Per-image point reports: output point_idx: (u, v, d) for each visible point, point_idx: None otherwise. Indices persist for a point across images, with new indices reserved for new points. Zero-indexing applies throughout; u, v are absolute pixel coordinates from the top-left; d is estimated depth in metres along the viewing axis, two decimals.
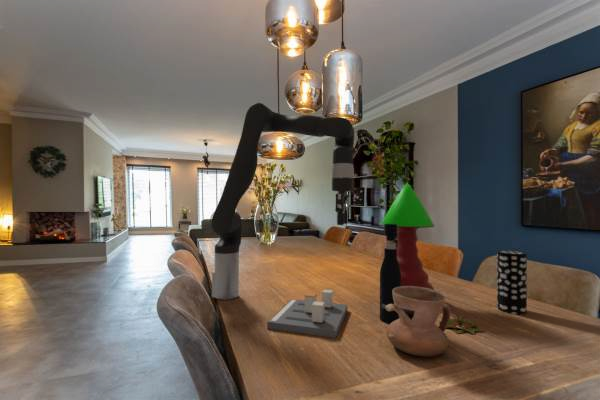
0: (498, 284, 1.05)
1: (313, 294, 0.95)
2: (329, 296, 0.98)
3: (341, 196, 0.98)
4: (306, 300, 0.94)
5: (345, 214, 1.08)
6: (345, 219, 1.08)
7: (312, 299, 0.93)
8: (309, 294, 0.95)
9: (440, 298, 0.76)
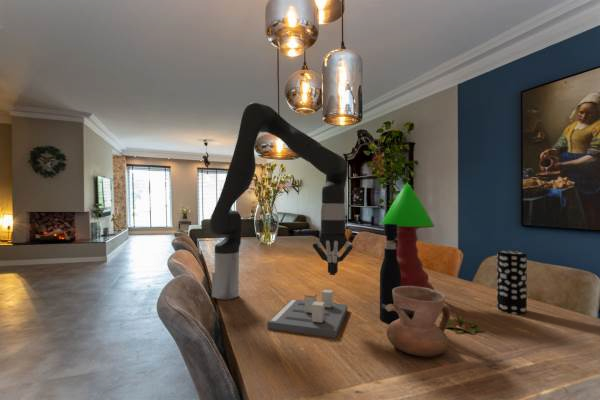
0: (498, 284, 1.05)
1: (313, 294, 0.95)
2: (329, 296, 0.98)
3: None
4: (306, 300, 0.94)
5: None
6: None
7: (312, 299, 0.93)
8: (309, 294, 0.95)
9: (440, 298, 0.76)
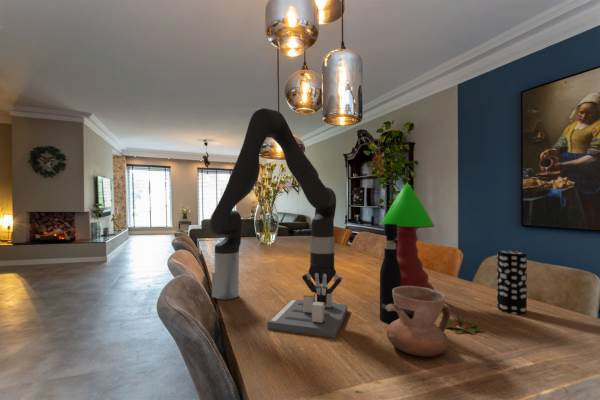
0: (498, 284, 1.05)
1: (312, 294, 0.95)
2: (329, 296, 0.98)
3: None
4: (305, 300, 0.94)
5: None
6: None
7: (311, 299, 0.93)
8: (308, 294, 0.95)
9: (440, 298, 0.76)
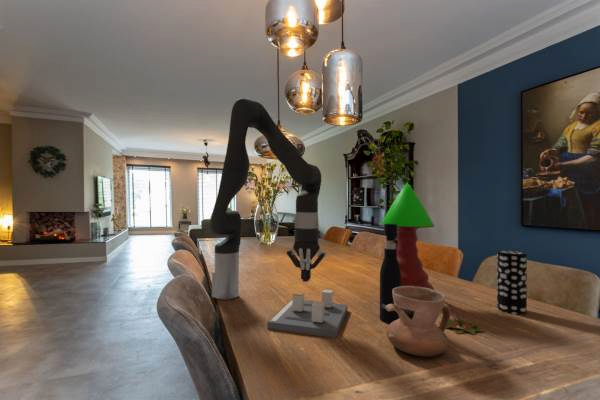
0: (498, 284, 1.05)
1: (301, 293, 0.96)
2: (329, 296, 0.98)
3: (324, 256, 0.95)
4: (294, 299, 0.95)
5: None
6: None
7: (299, 298, 0.94)
8: (297, 293, 0.96)
9: (440, 298, 0.76)
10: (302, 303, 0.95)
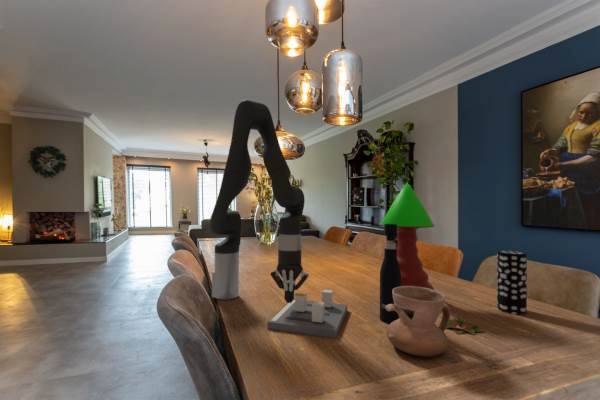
0: (498, 284, 1.05)
1: (303, 293, 0.96)
2: (329, 296, 0.98)
3: (307, 277, 0.96)
4: (296, 299, 0.95)
5: None
6: None
7: (302, 298, 0.94)
8: (299, 293, 0.96)
9: (440, 298, 0.76)
10: (305, 303, 0.95)
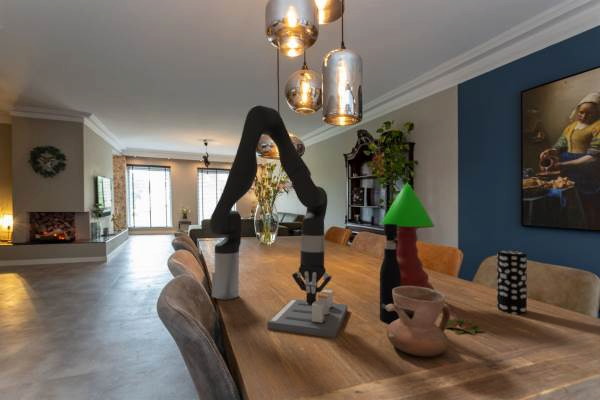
0: (498, 284, 1.05)
1: (326, 295, 0.94)
2: (329, 296, 0.98)
3: (330, 279, 0.94)
4: (319, 301, 0.93)
5: None
6: None
7: (325, 300, 0.92)
8: (322, 295, 0.94)
9: (440, 298, 0.76)
10: (327, 306, 0.93)
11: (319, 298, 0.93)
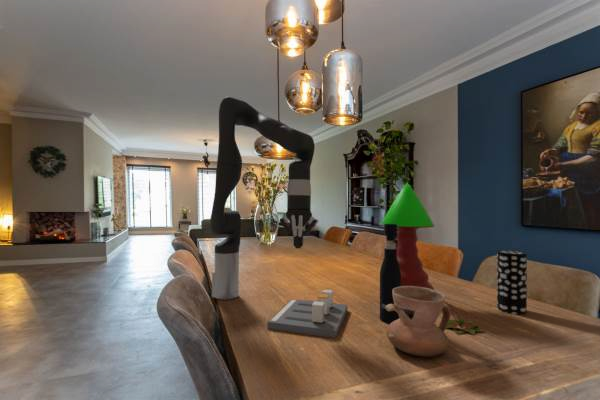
0: (498, 284, 1.05)
1: (326, 295, 0.94)
2: (329, 296, 0.98)
3: (316, 223, 0.96)
4: (319, 301, 0.93)
5: None
6: None
7: (325, 300, 0.92)
8: (322, 295, 0.94)
9: (440, 298, 0.76)
10: (327, 306, 0.93)
11: (319, 298, 0.93)
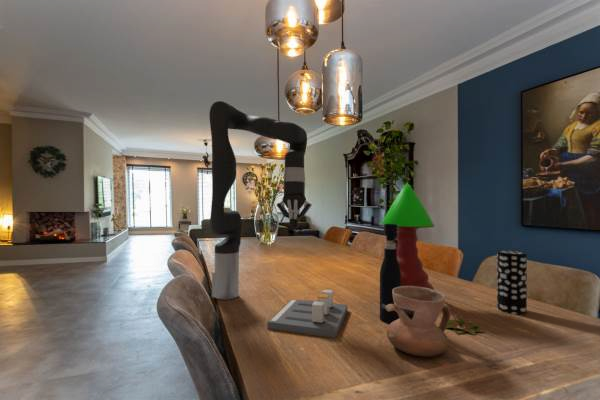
0: (498, 284, 1.05)
1: (326, 295, 0.94)
2: (329, 296, 0.98)
3: None
4: (319, 301, 0.93)
5: None
6: None
7: (325, 300, 0.92)
8: (322, 295, 0.94)
9: (440, 298, 0.76)
10: (327, 306, 0.93)
11: (319, 298, 0.93)
